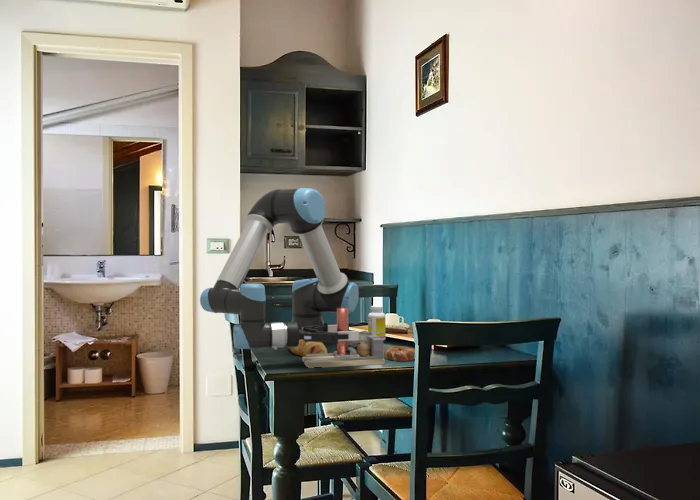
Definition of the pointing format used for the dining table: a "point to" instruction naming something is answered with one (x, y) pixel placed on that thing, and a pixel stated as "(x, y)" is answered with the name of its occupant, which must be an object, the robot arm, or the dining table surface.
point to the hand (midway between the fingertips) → (352, 332)
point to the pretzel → (399, 353)
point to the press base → (366, 356)
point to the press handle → (342, 326)
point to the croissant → (309, 348)
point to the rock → (362, 339)
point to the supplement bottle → (377, 322)
